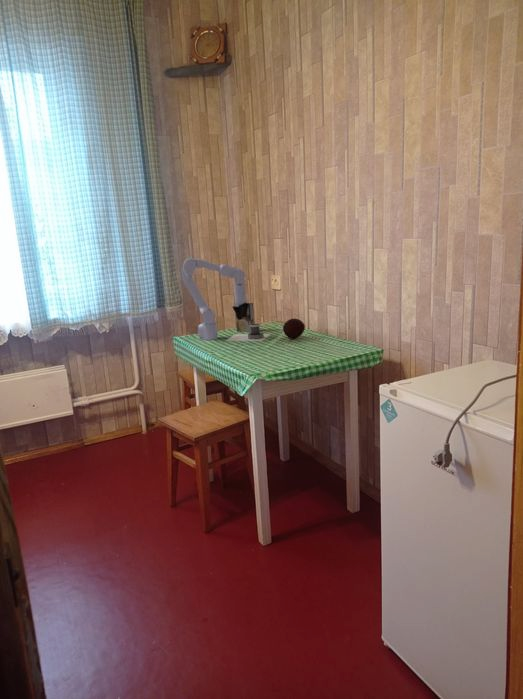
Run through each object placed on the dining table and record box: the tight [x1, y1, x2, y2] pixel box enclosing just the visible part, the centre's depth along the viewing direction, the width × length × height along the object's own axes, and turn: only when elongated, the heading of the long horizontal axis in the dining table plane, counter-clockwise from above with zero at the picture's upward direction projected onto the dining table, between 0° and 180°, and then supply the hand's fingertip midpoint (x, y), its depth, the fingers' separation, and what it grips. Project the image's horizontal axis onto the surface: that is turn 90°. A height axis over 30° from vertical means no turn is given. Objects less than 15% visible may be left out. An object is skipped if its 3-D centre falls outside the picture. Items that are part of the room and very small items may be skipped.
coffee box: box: [234, 302, 256, 333], centre depth 284 cm, size 9×6×16 cm
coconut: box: [282, 318, 306, 340], centre depth 261 cm, size 11×13×10 cm
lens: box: [250, 323, 261, 335], centre depth 264 cm, size 5×5×7 cm
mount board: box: [224, 332, 271, 342], centre depth 267 cm, size 20×16×3 cm
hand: (242, 318), depth 270 cm, fingers open, 7 cm apart
